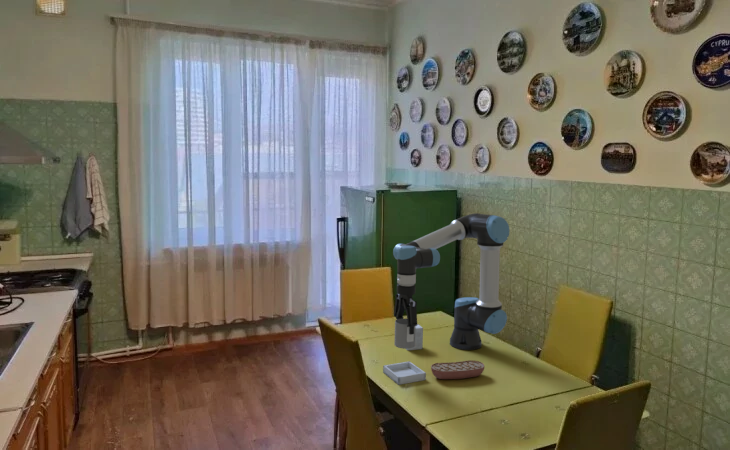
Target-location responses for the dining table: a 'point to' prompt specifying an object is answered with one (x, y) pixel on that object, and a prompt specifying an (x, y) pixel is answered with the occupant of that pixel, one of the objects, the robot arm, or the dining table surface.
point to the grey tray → (404, 372)
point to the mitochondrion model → (457, 369)
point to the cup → (402, 334)
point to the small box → (418, 338)
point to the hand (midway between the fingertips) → (404, 337)
